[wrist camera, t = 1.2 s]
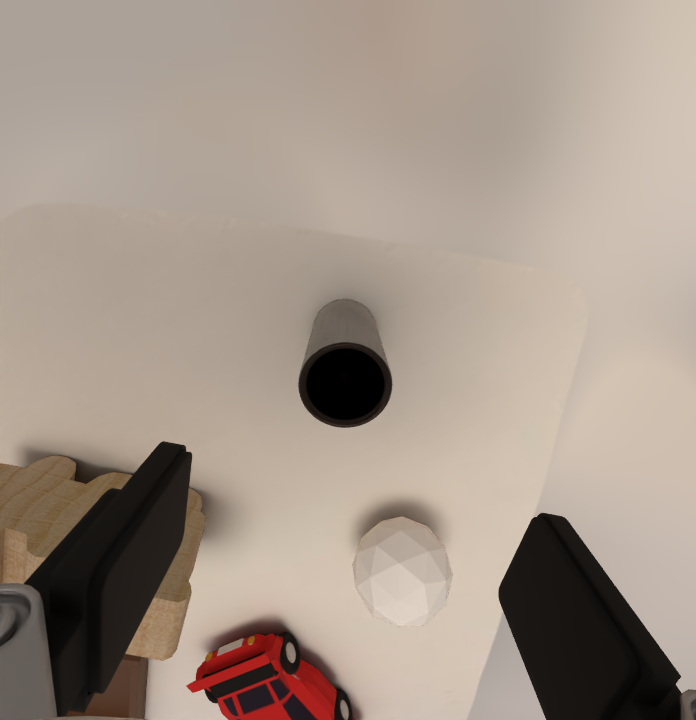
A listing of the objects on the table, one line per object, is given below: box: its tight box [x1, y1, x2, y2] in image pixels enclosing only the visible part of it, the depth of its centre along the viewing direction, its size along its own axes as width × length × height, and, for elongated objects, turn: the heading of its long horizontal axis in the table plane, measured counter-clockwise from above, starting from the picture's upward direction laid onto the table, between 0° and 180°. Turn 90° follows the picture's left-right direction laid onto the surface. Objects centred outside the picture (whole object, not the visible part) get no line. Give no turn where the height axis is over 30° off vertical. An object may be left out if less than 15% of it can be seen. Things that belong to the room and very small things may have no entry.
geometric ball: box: [352, 516, 453, 626], centre depth 31 cm, size 8×8×8 cm
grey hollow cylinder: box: [298, 299, 392, 428], centre depth 23 cm, size 4×4×10 cm
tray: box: [66, 654, 148, 719], centre depth 40 cm, size 14×11×2 cm
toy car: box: [187, 633, 355, 720], centre depth 39 cm, size 10×20×5 cm, turn 32°
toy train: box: [0, 456, 206, 661], centre depth 29 cm, size 6×17×10 cm, turn 72°
